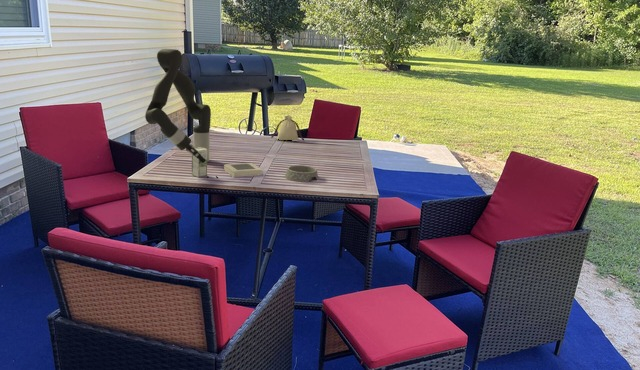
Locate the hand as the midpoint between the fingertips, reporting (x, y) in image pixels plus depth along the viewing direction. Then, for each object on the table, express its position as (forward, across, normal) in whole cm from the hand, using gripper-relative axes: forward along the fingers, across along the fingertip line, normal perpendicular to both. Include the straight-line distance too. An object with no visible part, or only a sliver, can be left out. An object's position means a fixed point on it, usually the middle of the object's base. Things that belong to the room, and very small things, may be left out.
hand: (202, 159), depth 257 cm
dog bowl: (+41, -19, -29) cm, 54 cm away
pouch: (+67, +78, -55) cm, 116 cm away
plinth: (+22, 0, -10) cm, 24 cm away
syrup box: (+5, 0, +7) cm, 9 cm away
